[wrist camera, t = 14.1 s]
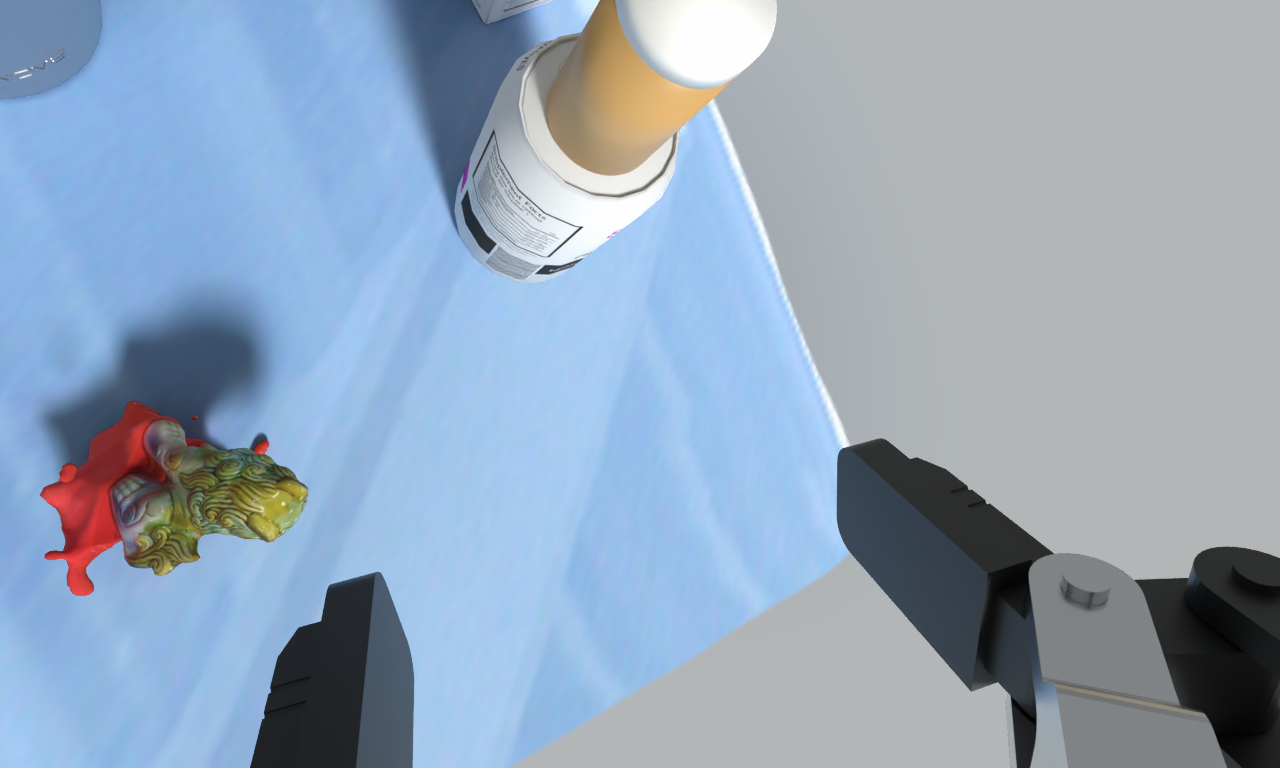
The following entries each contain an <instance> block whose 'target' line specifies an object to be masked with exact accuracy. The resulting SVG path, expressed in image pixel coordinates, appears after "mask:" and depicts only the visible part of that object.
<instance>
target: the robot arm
mask: <svg viewBox="0 0 1280 768" xmlns="http://www.w3.org/2000/svg"><path fill="white" fill-rule="evenodd" d="M101 27H102V20H101V6H100V3H99V0H0V99H4V98H19V97H25V96H30V95H36V94H40V93H42V92H45V91H47V90H50V89H52V88H55V87H58V86H60V85H61V84H63V83H64V82H66V81H67V80H69V79H70V78H72V77H73V76H75V75H76V74H77V73H78V72H79V71H80V70H81V69H82V68H83V67H84V66H85V65H86V63H87V62H88V61H89V60H90V58H91V56H92V55H93V53H94V51H95V49H96V47H97V45H98V42H99V37H100V32H101ZM837 523H838V528H839V531H840V534H841V537H842V539H843V542H844V544H845V545H846V547H847V549H848V550H849V551H850V553H851V554H852V555H853V556H854V557H855V558H856V560H857V561H858V562H859V563H860V564H861V565H862V566H863V567H864V569H865V570H866V571H867V572H868V573H869V575H870V576H871V577H872V578H873V579H874V580H875V581H876V583H877V584H878V585H879V586H880V587H881V588H882V589H883V591H884V592H885V593H886V594H887V595H888V596H889V598H890V599H891V600H892V601H893V602H894V603H895V604H896V606H897V607H898V608H899V609H900V610H901V611H902V612H903V614H904V615H905V616H906V617H907V618H908V619H909V621H910V622H911V623H912V624H913V625H914V626H915V627H916V628H917V630H918V631H919V632H920V633H921V634H922V635H923V637H924V638H925V639H926V640H927V641H928V642H929V643H930V645H931V646H932V647H933V648H934V649H935V650H936V652H937V653H938V654H939V655H940V656H941V657H942V659H944V661H945V662H946V663H947V664H948V665H949V667H950V668H951V669H952V670H953V671H954V672H955V673H956V675H957V676H958V677H959V678H960V679H961V680H962V681H963V683H964V684H965V685H966V686H967V687H968V688H969V690H970V691H974V690H977V689H980V688H983V687H985V686H988V685H991V684H994V683H997V682H998V683H999V684H1000V685H1001V686H1002V687H1003V688H1004V689H1005V690H1006V691H1007V692H1008V695H1007V701H1006V717H1007V729H1008V742H1009V754H1010V767H1011V768H1280V558H1278V557H1275V556H1272V555H1270V554H1266V553H1263V552H1260V551H1256V550H1251V549H1246V548H1239V547H1216V548H1210V549H1207V550H1205V551H1202V552H1201V553H1200V554H1198V555H1197V557H1196V558H1195V560H1194V563H1193V566H1192V569H1191V572H1190V576H1189V578H1178V579H1177V578H1174V579H1149V580H1148V579H1147V580H1133V579H1132V578H1131V577H1130V576H1129V575H1127V574H1126V573H1124V571H1122V570H1120V569H1119V568H1117V567H1115V566H1113V565H1111V564H1109V563H1107V562H1105V561H1102V560H1099V559H1096V558H1092V557H1089V556H1085V555H1080V554H1070V553H1059V554H1054V553H1052V552H1051V551H1050V550H1049V549H1047V548H1046V547H1045V546H1044V545H1042V544H1041V543H1040V542H1038V541H1037V540H1036V539H1035V538H1033V537H1032V536H1031V535H1029V534H1028V533H1027V532H1026V531H1024V530H1023V529H1022V528H1020V527H1019V526H1018V525H1017V524H1015V523H1014V522H1013V521H1011V520H1010V519H1009V518H1008V517H1006V516H1005V515H1003V514H1002V513H1001V512H1000V511H999V510H997V509H996V508H995V507H993V506H992V505H991V504H986V502H985V499H983V498H982V497H981V496H979V495H978V494H977V493H975V492H974V491H973V490H968V487H967V485H965V484H964V483H963V482H961V481H960V480H958V478H956V477H955V476H954V475H952V474H951V473H950V472H949V471H947V470H946V469H944V468H941V467H939V466H936V465H934V464H932V463H929V462H927V461H924V460H922V459H919V458H913V459H909V458H908V457H907V456H905V455H904V454H903V453H902V452H900V451H899V450H898V449H897V448H896V447H894V446H893V445H892V444H891V443H889V442H888V441H887V440H885V439H876V440H872V441H869V442H865V443H861V444H857V445H853V446H850V447H846V448H843V449H841V450H840V452H839V454H838V461H837ZM270 689H271V693H269V694H268V698H267V702H266V706H265V710H264V715H265V719H262V722H261V726H260V730H259V734H258V738H257V742H256V746H255V750H254V754H253V758H252V762H251V766H250V768H412V762H413V710H414V672H413V664H412V658H411V653H410V648H409V645H408V641H407V639H406V636H405V633H404V630H403V628H402V625H401V622H400V620H399V617H398V614H397V612H396V609H395V606H394V604H393V601H392V598H391V595H390V593H389V590H388V587H387V585H386V582H385V580H384V578H383V576H382V574H381V573H380V572H375V573H372V574H368V575H364V576H360V577H357V578H353V579H349V580H346V581H342V582H338V583H334V584H331V585H329V587H328V589H327V593H326V598H325V604H324V609H323V614H322V620H321V622H317V623H313V624H310V625H306V626H303V627H299V628H298V629H297V631H296V632H295V634H294V635H293V636H292V638H291V639H290V641H289V642H288V643H287V645H286V646H285V648H284V649H283V651H282V652H281V653H280V655H279V656H278V658H277V662H276V666H275V670H274V674H273V678H272V682H271V686H270Z"/></svg>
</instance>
